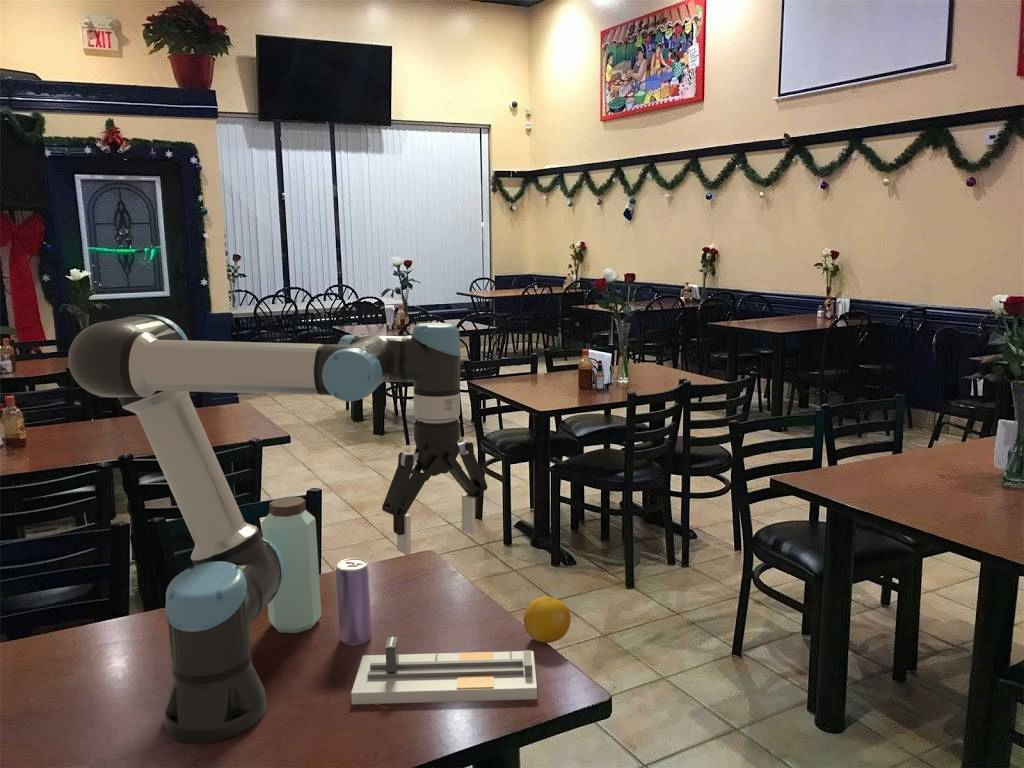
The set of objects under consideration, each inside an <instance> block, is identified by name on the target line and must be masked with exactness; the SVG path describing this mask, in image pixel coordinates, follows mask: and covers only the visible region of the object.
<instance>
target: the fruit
mask: <svg viewBox="0 0 1024 768" xmlns="http://www.w3.org/2000/svg"><path fill="white" fill-rule="evenodd" d="M571 620H572V619H571V613H570V609H569V607H568V606H567V604H565V602H563V601H561V600H560V599H558V598H555V597H552V596H546V595H545V596H544V595H543V596H540V597H537V598H535V599H533V600H532V601H531V602H530V603H529V604H528V606H527V607H526V608H525V611H524V614H523V625H524V628H525V630H526V631H525V632H526V633H527V634H528V635H529V636H530V637H531V638H532V639H533V640H535V641H537V642H539V643H546V644H548V643H555V642H557V641H559V640H561V639H562V638H564V636H565V635H566V634H567V632H568V631H569V629H570V626H571Z"/></svg>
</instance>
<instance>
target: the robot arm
mask: <svg viewBox="0 0 1024 768" xmlns="http://www.w3.org/2000/svg"><path fill="white" fill-rule="evenodd" d="M412 331H413V332H412V333H411V334H409V335H386V334H385V335H382V334H376V335H375V334H365V333H360V334H345V335H344V336H342V337H340V339H339V341H338V344H335V343H333V344H330V343H329V344H328V343H327V344H322V343H293V342H292V343H291V342H290V343H289V342H259V341H258V342H256V341H255V342H253V341H252V342H251V341H247V342H246V341H222V340H221V341H216V340H215V341H213V340H188V337H187V336H186V334H185V332H184V331H183V329H182V328H180V326H179V325H178V324H176V323H175V322H174V321H172V320H170V319H168V318H166V317H164V316H161V315H156V314H155V315H154V314H135V315H131V316H126V317H122V318H118V319H113V320H108V321H107V320H106V321H101V322H97V323H94V324H91V325H89V326H88V327H86V328H84V329H83V330H81V331H80V332H79V333H78V334H77V335H76V337H75V338H74V339H73V341H72V343H71V344H70V347H69V350H68V357H67V361H68V368H69V371H70V374H71V376H72V378H73V379H74V380H75V382H76V383H77V385H79V386H80V387H81V388H82V389H83V390H85V391H87V392H88V393H90V394H93V395H95V396H98V397H104V398H117V399H118V400H119V403H120V405H121V407H122V408H123V409H124V410H126V411H128V412H131V413H133V414H135V415H136V416H137V418H138V420H139V422H140V425H141V426H142V429H143V431H144V433H145V435H146V437H147V441H148V442H149V444H150V446H151V448H152V451H153V453H154V456H155V457H156V461H157V462H158V465H159V466H160V469H161V470H162V473H163V475H164V477H165V480H166V482H167V485H168V486H169V489H170V491H171V493H172V495H173V497H174V500H175V503H176V504H177V507H178V509H179V511H180V513H181V515H182V517H183V521H184V522H185V524H186V526H187V529H188V531H189V534H190V535H191V538H192V541H193V543H194V548H193V550H192V552H191V556H190V559H191V561H192V564H193V566H194V567H193V568H186V569H185V570H183V571H181V572H179V574H177V575H176V576H175V577H174V578H172V580H171V581H170V583H169V584H168V586H167V588H166V592H165V607H164V609H165V610H164V612H165V617H166V621H167V623H166V624H167V630H168V640H169V650H170V658H171V659H170V660H171V668H172V681H171V685H170V689H169V692H168V696H167V700H166V704H165V708H164V725H165V731H166V733H167V734H168V736H170V737H171V738H173V740H174V739H175V740H177V741H179V742H183V743H188V744H205V743H207V744H208V743H214V742H218V741H222V740H226V739H230V738H232V737H233V738H234V737H235V736H237V735H240V734H241V733H244V732H246V731H247V730H249V729H250V728H252V727H254V726H255V725H256V724H257V723H258V722H259V721H260V720H261V719H262V718H263V717H264V715H265V713H266V710H267V696H266V690H265V688H264V686H263V683H262V681H261V679H260V677H259V675H258V673H257V670H256V668H255V666H254V664H253V662H252V649H251V637H250V629H251V626H252V625H253V624H254V622H255V621H256V620H257V618H258V617H259V616H260V615H261V613H262V612H263V611H264V609H265V608H266V607H268V604H269V603H270V602H271V601H272V600H273V598H274V597H275V596H276V594H277V592H278V590H279V587H280V586H281V584H282V581H283V577H284V562H283V558H282V556H281V554H280V552H279V550H278V549H277V547H276V546H275V545H274V544H273V543H272V542H268V541H266V540H265V539H264V538H263V536H262V534H261V532H260V529H259V528H258V526H256V525H253V524H251V523H248V522H246V521H245V519H244V517H243V514H242V513H241V510H240V508H239V506H238V504H237V503H238V502H237V501H236V499H235V497H234V494H233V492H232V490H231V487H230V485H229V483H228V481H227V479H226V476H225V473H224V471H223V470H222V467H221V465H220V463H219V460H218V458H217V455H216V453H215V452H214V449H213V446H212V445H211V442H210V440H209V437H208V435H207V433H206V430H205V428H204V425H203V424H202V422H201V420H200V417H199V415H198V413H197V412H198V411H197V410H196V408H195V406H194V403H193V401H192V398H191V397H190V392H194V393H195V392H197V393H198V392H199V393H202V392H203V393H233V394H234V393H235V394H236V393H237V394H242V393H243V394H268V395H269V394H277V395H312V396H313V395H314V396H318V395H319V396H333V398H335V399H337V400H340V401H343V402H356V401H359V400H362V399H364V398H367V397H368V396H370V395H371V394H372V393H374V392H375V391H376V389H377V388H378V387H379V386H380V385H382V384H383V383H387V382H390V383H392V382H395V383H396V382H397V383H400V382H401V383H410V382H411V383H413V417H414V418H416V419H414V421H413V440H414V442H415V449H414V452H404V451H400V452H399V453H398V461H397V467H396V470H395V473H394V474H393V475H394V476H393V478H392V480H391V483H390V486H389V489H388V491H387V493H386V496H385V498H384V501H383V504H382V507H381V510H382V512H385V513H387V514H389V515H392V516H393V517H392V519H393V522H392V523H393V525H392V526H393V528H392V529H393V533H394V534H395V535H396V548H397V549H396V551H399V552H400V553H402V554H404V555H407V556H408V555H411V554H412V553H411V552H412V549H411V548H412V547H411V546H412V544H411V543H412V539H411V537H412V533H411V530H412V529H411V526H412V525H411V523H412V522H411V521H412V520H411V518H412V517H411V514H408V511H409V509H410V508H411V507H412V505H413V503H414V501H415V500H416V499H417V496H418V494H419V493H420V492H421V489H422V488H423V486H424V484H425V483H426V482H428V481H429V480H430V479H431V476H432V477H436V476H438V475H440V474H448V473H449V474H450V475H451V476H452V477H453V478H454V480H455V481H456V482H457V483H458V485H459V486H460V488H462V489H463V491H465V493H464V494H462V495H461V531H462V532H464V533H465V534H469V535H471V536H473V535H476V514H477V513H478V510H479V509H478V507H479V506H478V504H479V503H478V502H479V499H480V498H482V496H483V492H485V491H487V489H488V484H487V482H486V479H485V477H484V474H483V471H482V470H481V467H480V465H479V462H478V460H477V457H476V456H475V451H474V443H473V442H472V441H468V440H466V439H465V440H464V439H461V420H459V416H460V415H461V354H462V351H461V343H460V340H461V339H460V331H459V328H458V326H457V325H455V324H453V323H447V322H422V323H417V324H415V325H414V327H413V330H412ZM459 455H460V458H461V461H462V462H463V466H464V468H465V470H466V472H467V473H466V472H465V470H464V469H463V467H462V465H461V464H460V462H458V460H457V457H458V456H459Z"/></svg>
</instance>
